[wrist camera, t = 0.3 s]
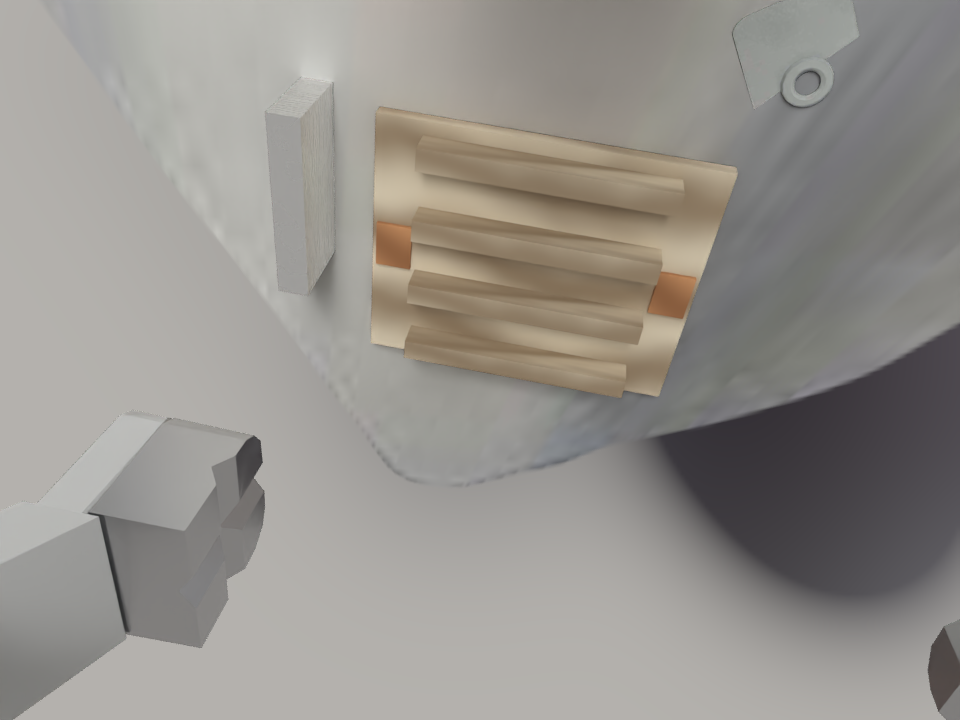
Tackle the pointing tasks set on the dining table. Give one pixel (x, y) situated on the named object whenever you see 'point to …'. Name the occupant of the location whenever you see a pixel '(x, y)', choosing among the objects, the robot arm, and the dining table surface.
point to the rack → (537, 251)
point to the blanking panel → (302, 182)
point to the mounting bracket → (793, 47)
